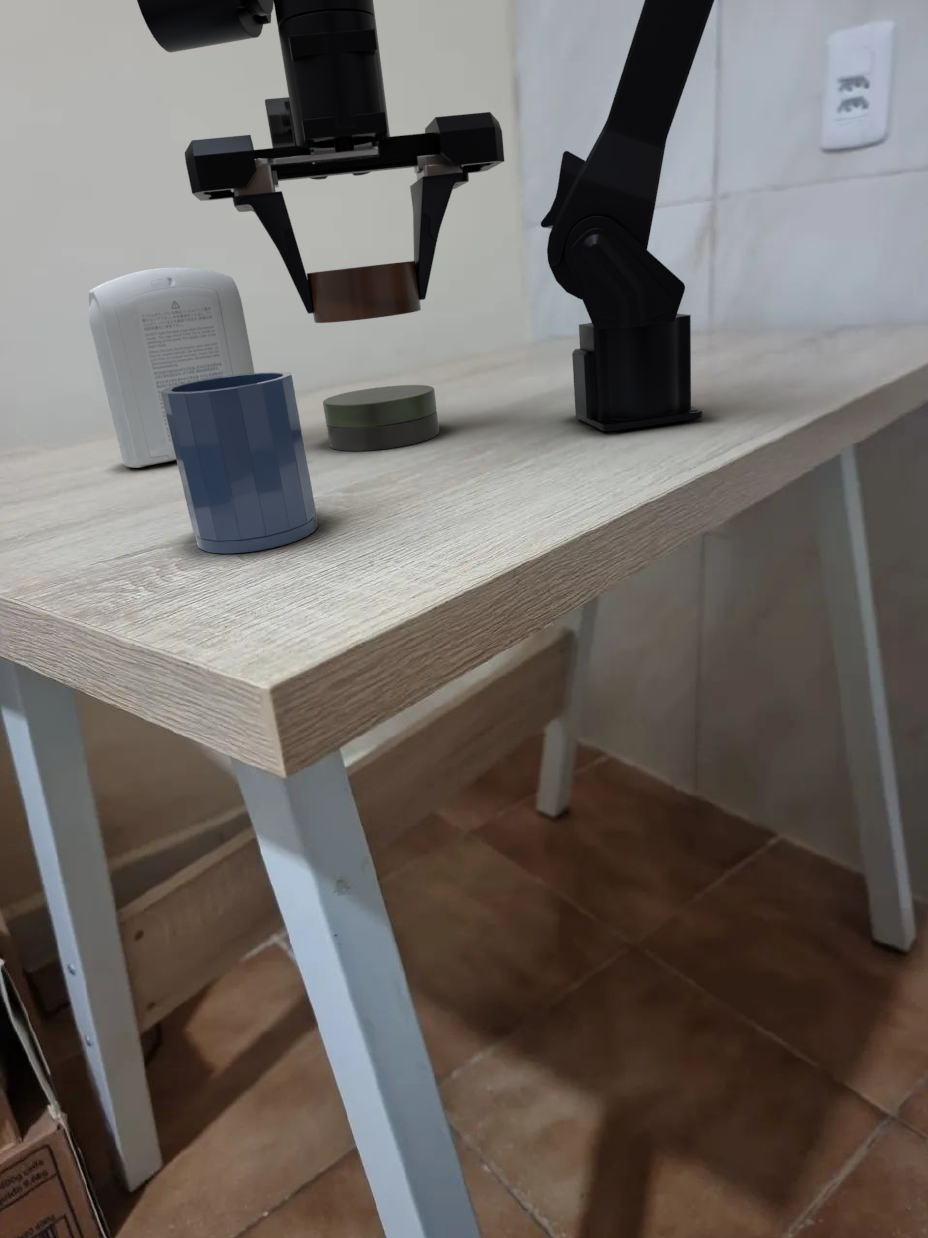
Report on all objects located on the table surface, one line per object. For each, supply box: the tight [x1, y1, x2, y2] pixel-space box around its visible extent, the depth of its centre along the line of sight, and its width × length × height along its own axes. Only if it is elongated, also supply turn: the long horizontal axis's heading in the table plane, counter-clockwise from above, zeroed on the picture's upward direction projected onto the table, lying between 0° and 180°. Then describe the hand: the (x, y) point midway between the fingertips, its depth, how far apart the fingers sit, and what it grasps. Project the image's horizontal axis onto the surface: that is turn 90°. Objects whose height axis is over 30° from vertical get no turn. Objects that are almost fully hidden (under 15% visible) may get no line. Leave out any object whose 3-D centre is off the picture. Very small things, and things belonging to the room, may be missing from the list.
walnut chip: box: [306, 260, 422, 324], centre depth 57 cm, size 7×7×3 cm
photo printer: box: [88, 266, 255, 469], centre depth 60 cm, size 10×4×12 cm, turn 123°
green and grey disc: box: [322, 384, 440, 452], centre depth 60 cm, size 8×8×3 cm
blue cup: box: [161, 371, 319, 554], centre depth 40 cm, size 6×6×7 cm
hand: (367, 306), depth 57 cm, fingers closed on walnut chip, 7 cm apart
